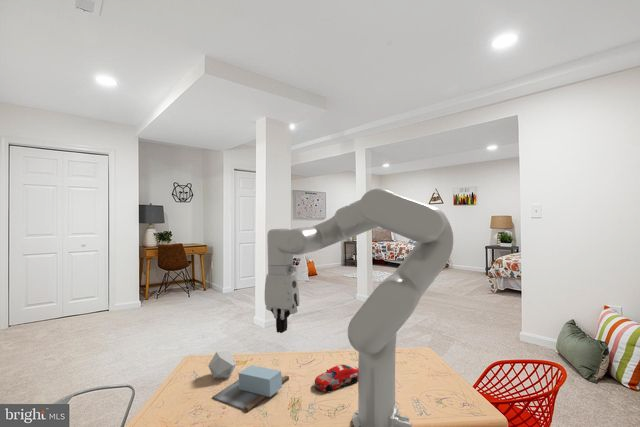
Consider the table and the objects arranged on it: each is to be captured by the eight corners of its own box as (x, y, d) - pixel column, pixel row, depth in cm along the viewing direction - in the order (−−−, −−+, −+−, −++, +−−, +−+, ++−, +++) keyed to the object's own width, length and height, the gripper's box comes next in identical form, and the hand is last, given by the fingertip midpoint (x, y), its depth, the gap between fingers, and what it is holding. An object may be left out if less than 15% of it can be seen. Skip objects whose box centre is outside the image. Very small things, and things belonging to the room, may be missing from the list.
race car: (320, 396, 98) (320, 379, 98) (310, 385, 104) (310, 370, 104) (363, 382, 106) (363, 367, 106) (352, 373, 112) (351, 359, 112)
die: (220, 387, 103) (238, 359, 106) (199, 372, 104) (217, 344, 107) (227, 384, 111) (243, 358, 114) (207, 369, 112) (224, 344, 115)
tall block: (281, 370, 100) (251, 365, 106) (269, 379, 95) (238, 373, 100) (282, 387, 100) (252, 380, 105) (270, 396, 94) (239, 389, 100)
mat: (288, 379, 107) (288, 376, 107) (248, 412, 89) (248, 408, 89) (256, 369, 114) (256, 366, 114) (212, 398, 96) (212, 394, 96)
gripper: (308, 269, 96) (309, 331, 96) (268, 266, 103) (269, 324, 103) (294, 273, 89) (296, 339, 89) (253, 270, 97) (254, 331, 96)
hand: (281, 331), depth 96 cm, fingers closed
